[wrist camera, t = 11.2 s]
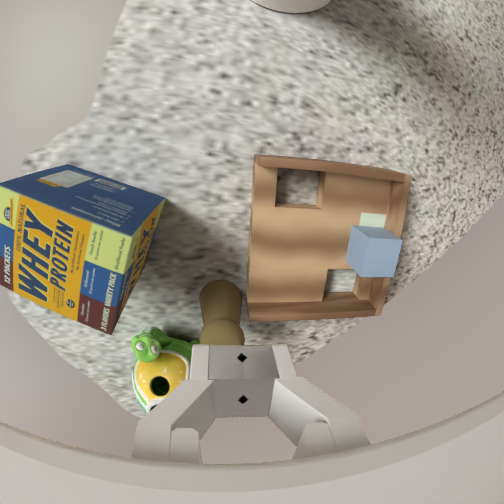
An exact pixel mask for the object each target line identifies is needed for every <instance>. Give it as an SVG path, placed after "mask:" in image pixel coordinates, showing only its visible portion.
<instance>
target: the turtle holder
mask: <svg viewBox="0 0 504 504" xmlns="http://www.w3.org/2000/svg"><path fill="white" fill-rule="evenodd" d="M193 344H200V342H199V341H196V340H193V341H191V342H190V343H188V342H186V341H183V340H179V339H175V338H170V337H168V336H166V335H165V334H164V333H163V332H162V331H161V330H160V329H158V328H156V327H147V328H146V329H145V330H144V331H143V332H142V333H141V334H140V335H137V336H135V337H134V338H133V339H132V348H133V352H134V354H135V356H136V360H135V367H134V371H133V372H132V383H133V388H134V392H135V396H136V399H137V401H138V403H139V404H140V406H141V407H142V409H143V410H144V412H145V413H146V414H148V413H149V412H150V411H151V410H152V409H154V408H155V407H156V406H157V405H158V404H159V403H160V402H161V401H162V400H163V399H164V398H166V397H167V396H168V395H169V394H170V393H171V392H172V391H173V390H174V389H175V388H176V387H177V386H178V385H179V384H180V383H182V382H183V381H184V380H185V379H190V368H191V356H192V347H193Z"/></svg>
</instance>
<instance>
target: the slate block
mask: <svg viewBox="0 0 504 504" xmlns="http://www.w3.org/2000/svg"><path fill="white" fill-rule="evenodd" d="M402 241H403V240H402V239H400V238H399V237H397V236H396V235H394V234H392V233H391V232H389V231H388V230H386V229H385V228H381V227H369V226H357V225H352V227H351V233H350V238H349V243H348V249H347V254H346V259H345V261H346V262H347V263H348V264H349V265H350V266H351V268H352V269H353V270H354V271H355V272H356V273H357V274H358V275H359V276H360V277H393V276H394V272H395V269H396V265H397V261H398V257H399V253H400V249H401V245H402Z"/></svg>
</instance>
